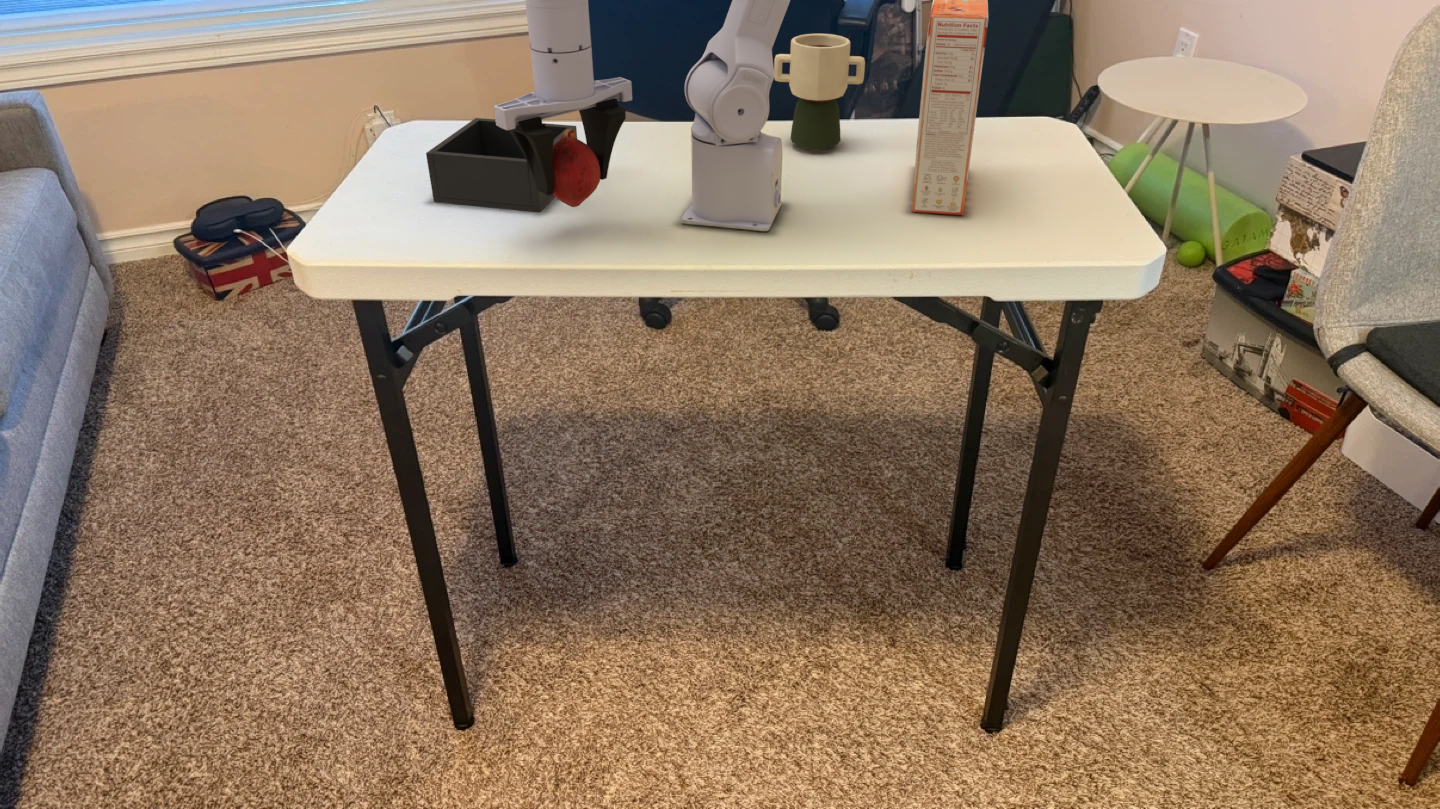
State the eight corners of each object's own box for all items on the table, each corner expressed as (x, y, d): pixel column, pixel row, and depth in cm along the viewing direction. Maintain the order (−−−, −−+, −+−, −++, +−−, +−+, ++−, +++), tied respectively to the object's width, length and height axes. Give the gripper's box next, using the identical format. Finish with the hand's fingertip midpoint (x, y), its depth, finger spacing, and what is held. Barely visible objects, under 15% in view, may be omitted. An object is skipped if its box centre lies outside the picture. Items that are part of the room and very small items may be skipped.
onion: (592, 219, 101) (586, 141, 97) (537, 215, 102) (529, 137, 98) (609, 198, 106) (604, 122, 102) (556, 194, 107) (549, 119, 103)
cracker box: (913, 168, 122) (934, -17, 110) (965, 172, 121) (991, -15, 109) (907, 213, 110) (928, 11, 99) (963, 217, 109) (992, 14, 98)
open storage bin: (579, 172, 120) (576, 125, 117) (539, 212, 110) (534, 162, 107) (481, 163, 123) (475, 117, 120) (433, 201, 113) (425, 152, 110)
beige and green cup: (858, 138, 131) (866, 34, 124) (858, 157, 125) (866, 49, 118) (774, 135, 132) (777, 31, 125) (769, 154, 126) (772, 46, 119)
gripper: (599, 26, 102) (608, 157, 109) (470, 50, 94) (489, 190, 101) (642, 39, 97) (648, 175, 105) (510, 66, 89) (527, 211, 97)
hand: (572, 184), depth 103 cm, fingers closed on onion, 6 cm apart
